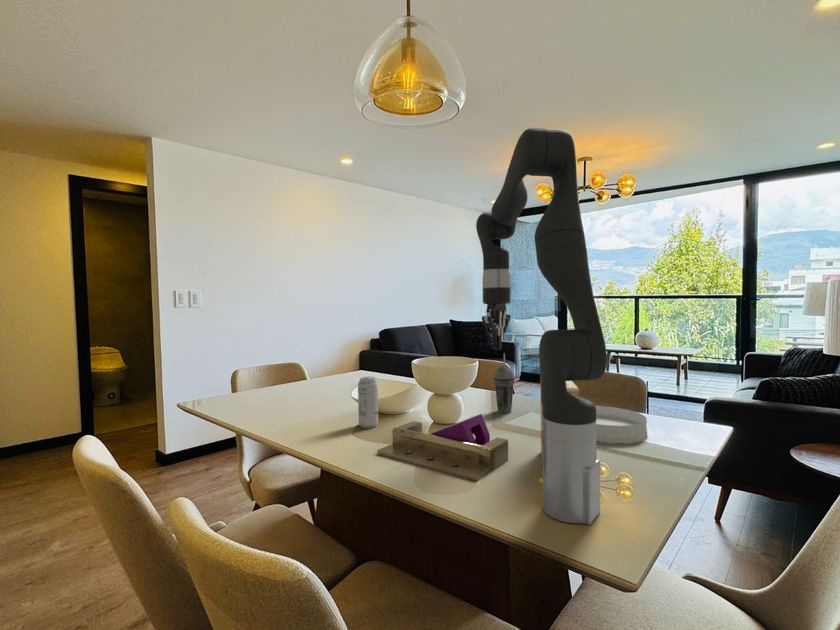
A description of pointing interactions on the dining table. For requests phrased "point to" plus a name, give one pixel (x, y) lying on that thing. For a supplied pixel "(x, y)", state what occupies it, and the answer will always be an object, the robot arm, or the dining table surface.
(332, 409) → the dining table surface
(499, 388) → the beverage cup
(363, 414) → the energy drink can
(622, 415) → the dish
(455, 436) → the mounting bracket
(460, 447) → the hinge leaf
